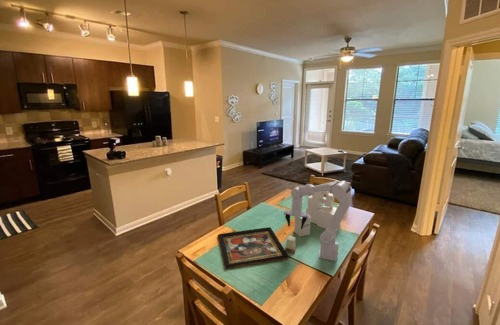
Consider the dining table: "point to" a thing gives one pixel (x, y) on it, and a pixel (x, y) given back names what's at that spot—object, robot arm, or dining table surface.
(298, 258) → the dining table surface
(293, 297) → the dining table surface
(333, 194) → the robot arm
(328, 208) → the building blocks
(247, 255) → the framed icon painting
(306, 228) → the supplement box
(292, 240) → the sage block
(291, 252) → the walnut base
